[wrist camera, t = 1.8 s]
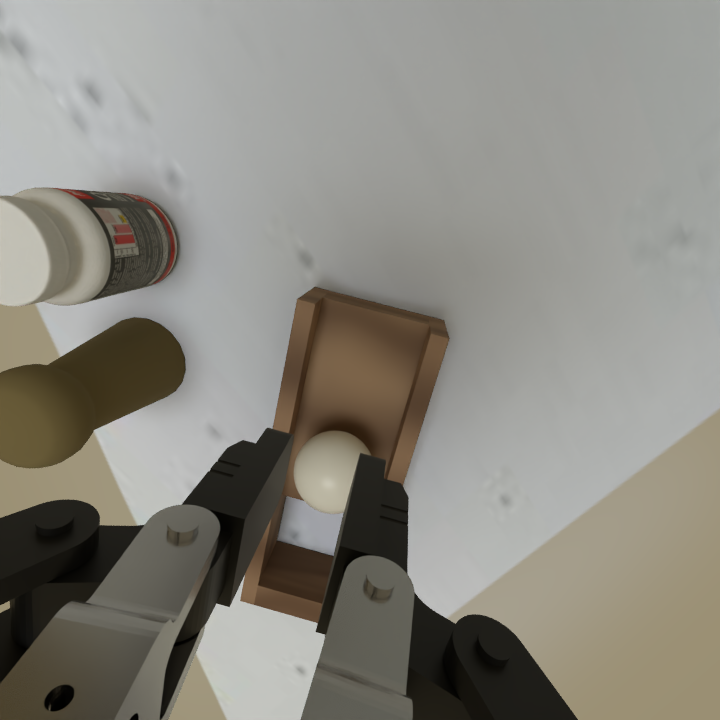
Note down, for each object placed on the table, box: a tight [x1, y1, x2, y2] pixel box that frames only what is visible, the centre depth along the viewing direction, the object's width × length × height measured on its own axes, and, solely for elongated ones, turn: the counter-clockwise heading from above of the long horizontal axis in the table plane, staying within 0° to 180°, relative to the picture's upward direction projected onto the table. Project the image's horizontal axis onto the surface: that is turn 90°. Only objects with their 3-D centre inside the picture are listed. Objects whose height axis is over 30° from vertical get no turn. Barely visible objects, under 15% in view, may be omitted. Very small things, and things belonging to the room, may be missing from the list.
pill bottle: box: [0, 188, 177, 306], centre depth 23 cm, size 6×6×10 cm
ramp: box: [240, 287, 449, 623], centre depth 29 cm, size 22×8×4 cm, turn 166°
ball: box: [294, 431, 371, 514], centre depth 26 cm, size 5×5×5 cm
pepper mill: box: [0, 318, 185, 468], centre depth 25 cm, size 6×6×11 cm
